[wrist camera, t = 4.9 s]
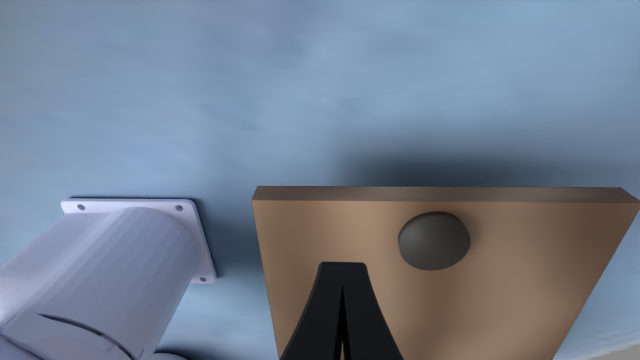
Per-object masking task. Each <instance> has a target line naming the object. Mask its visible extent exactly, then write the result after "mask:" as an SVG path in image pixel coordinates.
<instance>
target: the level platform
mask: <svg viewBox="0 0 640 360" xmlns="http://www.w3.org/2000/svg"><path fill="white" fill-rule="evenodd" d="M251 201H252V207H253V212H254V218H255V224H256V230H257V236H258V241H259V247H260V253H261V259H262V265H263V270H264V276H265V282H266V288H267V293H268V299H269V305H270V311H271V317H272V322H273V328H274V334H275V340H276V345H277V351H278V357H279V359H280V358H281V356H282V354H283V352H284V350H285V348H286V346H287V344H288V342H289V340H290V338H291V336H292V334H293V332H294V330H295V328H296V326H297V324H298V321H299V319H300V317H301V314H302V312H303V310H304V307H305V305H306V303H307V300H308V298H309V295H310V293H311V290H312V287H313V284H314V281H315V278H316V275H317V271H318V266H319V264H320V263H321V262H363V263H364V264H366V265H367V270H368V274H369V278H370V281H371V284H372V287H373V290H374V293H375V296H376V299H377V301H378V304H379V306H380V309H381V311H382V314H383V316H384V318H385V321H386V323H387V325H388V327H389V330H390V332H391V334H392V336H393V338H394V341H395V343H396V345H397V347H398V349H399V351H400V353H401V355H402V357H403V359H404V360H552V359H553V358H554V356H555V354H556V352H557V351H558V349H559V347H560V346H561V344H562V342H563V340H564V339H565V337H566V335H567V334H568V332H569V330H570V328H571V327H572V325H573V323H574V321H575V320H576V318H577V316H578V315H579V313H580V311H581V309H582V308H583V306H584V304H585V302H586V301H587V299H588V297H589V296H590V294H591V292H592V290H593V289H594V287H595V285H596V284H597V282H598V280H599V278H600V277H601V275H602V273H603V271H604V270H605V268H606V266H607V265H608V263H609V261H610V259H611V258H612V256H613V254H614V253H615V251H616V249H617V247H618V246H619V244H620V242H621V240H622V239H623V237H624V235H625V234H626V232H627V230H628V228H629V227H630V225H631V223H632V222H633V220H634V218H635V216H636V215H637V213H638V211H639V209H640V201H639V200H638V199H636V198H635V197H633V196H632V195H630V194H629V193H628V192H626V191H625V190H623V189H622V188H606V187H375V186H258V187H257V189H256V191H255V193H254V196H253V198H252V200H251ZM341 360H344V353H343V341H342V351H341Z"/></svg>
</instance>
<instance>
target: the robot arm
mask: <svg viewBox="0 0 640 360" xmlns="http://www.w3.org/2000/svg"><path fill="white" fill-rule="evenodd" d="M178 205H180V206H182V207H183V208H181V207H179V206H178ZM61 207H62V209H63V210H64V212H65V215H63V216H62V217H61V218H60V219H59V220H57V221H56V222H55V223H54V224H52V225H51V226H50V227H49V228H48V229H46V230H45V231H44V232H43V233H41V234H40V235H39V236H38V237H37V238H35V239H34V240H33V241H32V242H31V243H29V244H28V245H27V246H26V247H24V248H23V249H22V250H21V251H20V252H18V253H17V254H16V255H15V256H14V257H12V258H11V259H10V260H9V261H7V262H6V263H5V264H4V265H3V266H1V267H0V360H150V359H151V357H152V355H153V353H154V351H155V349H156V348H157V346H158V344H159V342H160V340H161V338H162V336H163V334H164V332H165V330H166V328H167V326H168V324H169V322H170V320H171V318H172V317H173V315H174V313H175V311H176V309H177V307H178V305H179V303H180V301H181V299H182V297H183V295H184V293H185V291H186V289H187V288H188V286H189V284H190V283H201V284H213V283H215V281H216V279H217V275H216V272H215V268H214V265H213V262H212V258H211V255H210V252H209V248H208V245H207V242H206V238H205V235H204V232H203V228H202V225H201V222H200V218H199V215H198V211H197V208H196V205H195V203H194V202H193V201H191V200H188V199H82V198H68V199H65V200H64V201H62V202H61ZM342 341H343V353H344V360H404V359H403V357H402V355H401V353H400V351H399V349H398V347H397V345H396V343H395V341H394V338H393V336H392V334H391V332H390V330H389V327H388V325H387V323H386V321H385V318H384V316H383V314H382V311H381V309H380V306H379V304H378V301H377V299H376V296H375V293H374V290H373V287H372V284H371V281H370V278H369V274H368V270H367V265H366V264H364V263H363V262H321V263H320V264H319V266H318V271H317V275H316V278H315V281H314V284H313V287H312V290H311V293H310V295H309V298H308V300H307V303H306V305H305V307H304V310H303V312H302V314H301V317H300V319H299V321H298V324H297V326H296V328H295V330H294V332H293V334H292V336H291V338H290V340H289V342H288V344H287V346H286V348H285V350H284V352H283V354H282V356H281V358H280V359H279V360H341V351H342Z"/></svg>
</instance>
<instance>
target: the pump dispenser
mask: <svg viewBox="0 0 640 360" xmlns="http://www.w3.org/2000/svg"><path fill="white" fill-rule="evenodd" d="M150 360H187V359H185V358H183V357H181V356H178V355H174V354H169V353H154V354H153V355H152V357H151V359H150Z"/></svg>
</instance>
